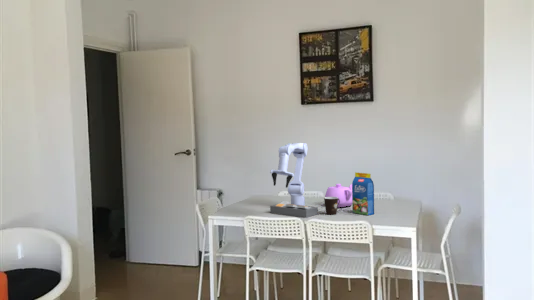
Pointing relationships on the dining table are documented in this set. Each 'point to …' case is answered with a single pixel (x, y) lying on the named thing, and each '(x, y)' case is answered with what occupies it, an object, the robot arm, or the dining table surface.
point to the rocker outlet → (304, 207)
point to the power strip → (294, 211)
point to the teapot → (341, 194)
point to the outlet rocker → (283, 203)
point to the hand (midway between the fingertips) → (280, 186)
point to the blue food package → (363, 194)
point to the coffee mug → (331, 205)
